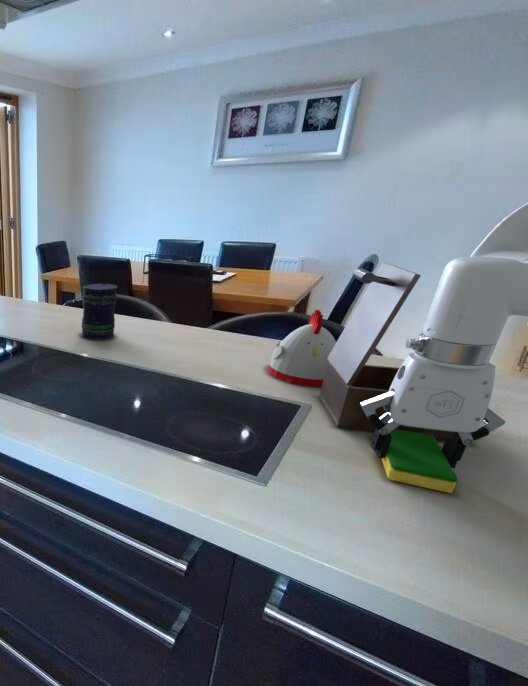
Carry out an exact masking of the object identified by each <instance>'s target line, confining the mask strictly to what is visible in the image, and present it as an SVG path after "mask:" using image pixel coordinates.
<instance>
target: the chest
mask: <svg viewBox="0 0 528 686" xmlns="http://www.w3.org/2000/svg"><path fill="white" fill-rule="evenodd" d="M399 368H400V367H395V366H384V365H374V364H373V365H371V364H365V365H364V367H363V369H362V370H361V372H360V373H359V375H358V377H357V378H356V380H355V381H354V383H353V385H352V386H351V385H347V384H346V382H345V381H344V380H343V379H342V377H341V376H340V375H339V374H338V372H337V371H336V370H335V368H334V367H333V366H332V365H331V363H330V362H328V365H327V369H326V373H325V376H324V380H323V384H322V387H320V391H319V396H318V398H319V399H320V402H321V403H322V405H323V407H324V408H325V410H326V412H327V413H328V415H329V416H330V418H331V420H332V422H333V423H334V425H335V427H336V428H340V429H348V430H355V431H362V432H371V433H375V430H376V428H375V427H374V425H373V424H372V423H371V422H370V421H369V419H368V418H367V417H366V415H365V413H364V411H363V410H362V408H361V406H360V403H361V402H363V401H365V400H368V399H371V398H374V397H377V396H379V395H382V394H385V393H388V391H389V389H390V386H391V384H392V382H393V380H394V378H395V376H396V374H397V372H398V370H399ZM375 412H376V414H377V416H378V417H379V418H380V417H381V416H382V415H384V414H385V413H386V411H385V410H384V406H382V407H379V408H377V409H376V410H375ZM395 429H398V430H404V431H409V432H415V433H420V434H426V435H431V436H434V437H435V439H436V441H441V442H442V441H443V442H445V440H446V438H447V437H448V436H449V435H453V432H450V431H441V430H433V429H425V428H417V427H409V426H403V425H400V426H398V427H397V428H395Z"/></svg>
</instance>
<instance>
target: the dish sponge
mask: <svg viewBox="0 0 528 686" xmlns="http://www.w3.org/2000/svg"><path fill="white" fill-rule="evenodd" d="M390 435H391V436H392V439H391V442H390V445H389V448H388V451H387V453H386V456H385V458H381V461H382V464H383V468H384V471H385V474H386V478H387V479H389V480H391V481H395V482H399V483H403V484H408V485H413V486H417V487H421V488H426V489H431V490H435V491H439V492H443V493H448V494H450V493H453V492H454V490H455V487H456V486H457V482H458V480H459V479H458V477H457V475H456V473H455V471H454V469H453V468H451V466H450V464H449V462H448V460H447V459H446V457H445V455H444V453H443V451H442V448H441V446H440V444H439V442H438V440H436V439H435V437H434V436H431V435H426V434H420V433H415V432H409V431H404V430H398V429H394V430H393V431H391V432H390Z"/></svg>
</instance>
